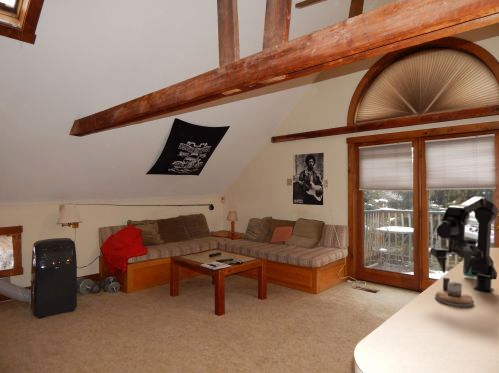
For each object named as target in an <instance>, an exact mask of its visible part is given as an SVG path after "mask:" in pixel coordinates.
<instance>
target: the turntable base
mask: <svg viewBox="0 0 499 373" xmlns="http://www.w3.org/2000/svg"><path fill="white" fill-rule="evenodd" d="M434 298H435V300H436V301H437V302H438V303H441V304H443V305H446V306H450V307H454V308H462V309H463V308H464V309H465V308H467V309H468V308H473V307H474V306H475V305H474V304H475V301H474V300H473V302H472V303H470V304H456V303H451V302H447V301H444V300H442V299H440V298H438V297H437V293H436V294H435V296H434Z"/></svg>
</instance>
